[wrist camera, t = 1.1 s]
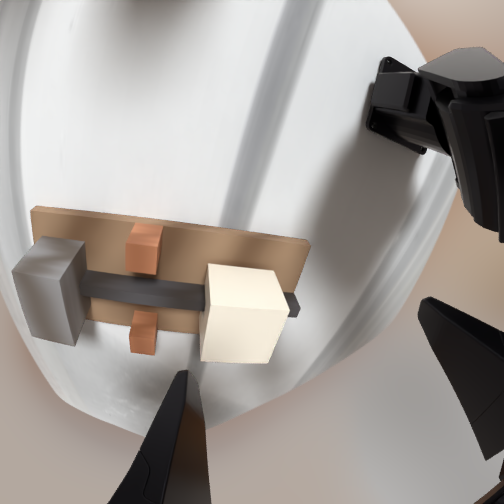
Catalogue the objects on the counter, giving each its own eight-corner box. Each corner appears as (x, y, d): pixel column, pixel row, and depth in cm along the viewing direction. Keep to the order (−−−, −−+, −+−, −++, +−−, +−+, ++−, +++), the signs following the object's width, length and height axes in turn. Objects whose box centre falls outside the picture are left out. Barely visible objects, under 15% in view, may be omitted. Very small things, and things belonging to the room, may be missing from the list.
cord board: (306, 239, 22) (336, 284, 17) (273, 330, 27) (288, 379, 22) (36, 205, 17) (-5, 241, 12) (51, 304, 21) (29, 350, 16)
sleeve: (273, 270, 21) (289, 310, 17) (256, 322, 24) (267, 363, 20) (208, 263, 20) (210, 305, 16) (199, 318, 23) (200, 361, 19)
